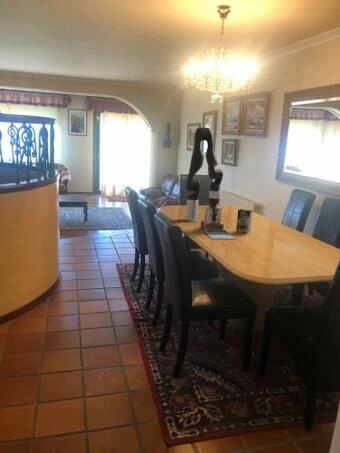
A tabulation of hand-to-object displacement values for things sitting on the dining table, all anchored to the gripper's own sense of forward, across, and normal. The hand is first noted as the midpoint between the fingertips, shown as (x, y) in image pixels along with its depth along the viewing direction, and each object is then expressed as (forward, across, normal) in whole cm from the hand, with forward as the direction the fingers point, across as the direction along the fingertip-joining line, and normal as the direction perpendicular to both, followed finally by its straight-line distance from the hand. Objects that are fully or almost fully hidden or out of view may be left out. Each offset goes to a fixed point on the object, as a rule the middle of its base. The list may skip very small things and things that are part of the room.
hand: (212, 219), depth 269 cm
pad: (+7, +22, 0) cm, 24 cm away
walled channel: (+7, 0, 0) cm, 7 cm away
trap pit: (+7, +12, 0) cm, 14 cm away
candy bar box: (+8, 0, 0) cm, 8 cm away
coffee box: (+8, +6, +22) cm, 24 cm away
